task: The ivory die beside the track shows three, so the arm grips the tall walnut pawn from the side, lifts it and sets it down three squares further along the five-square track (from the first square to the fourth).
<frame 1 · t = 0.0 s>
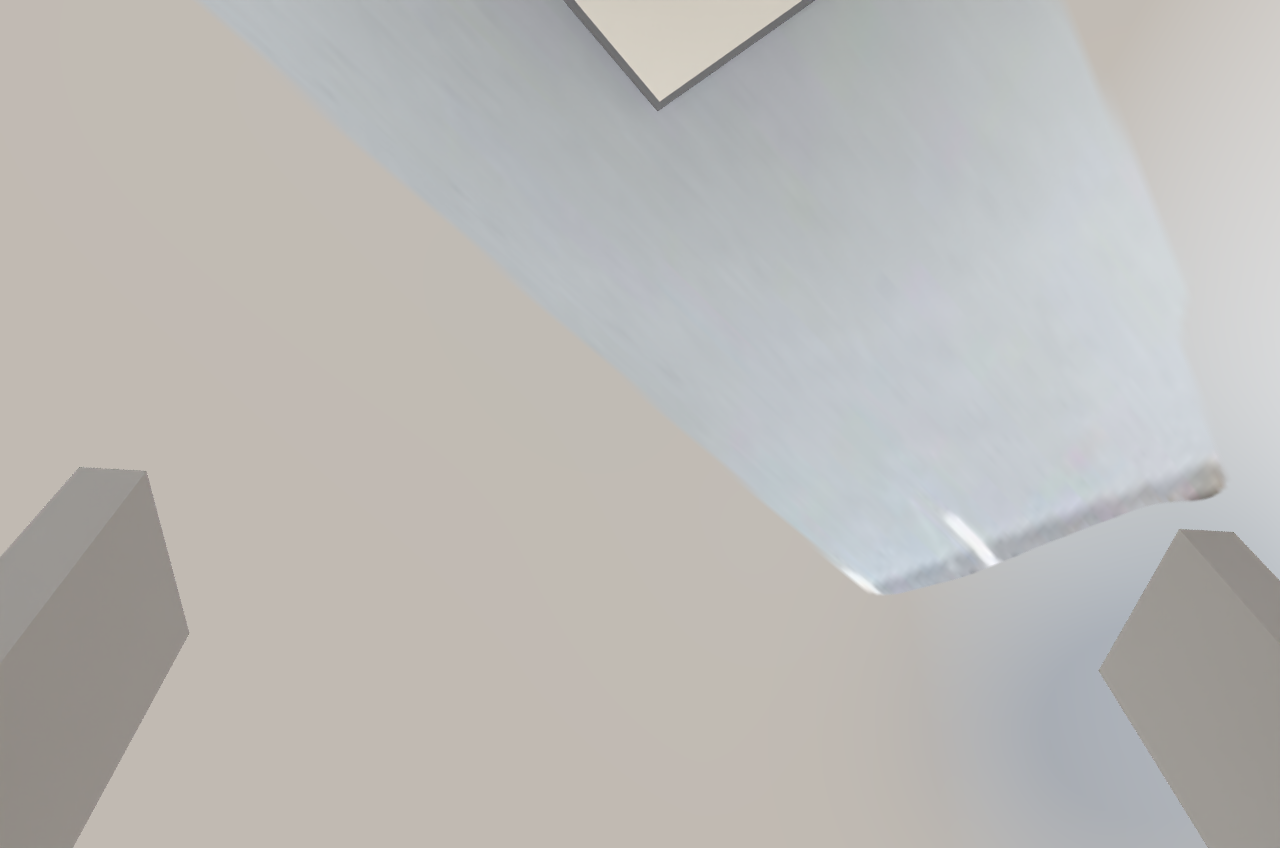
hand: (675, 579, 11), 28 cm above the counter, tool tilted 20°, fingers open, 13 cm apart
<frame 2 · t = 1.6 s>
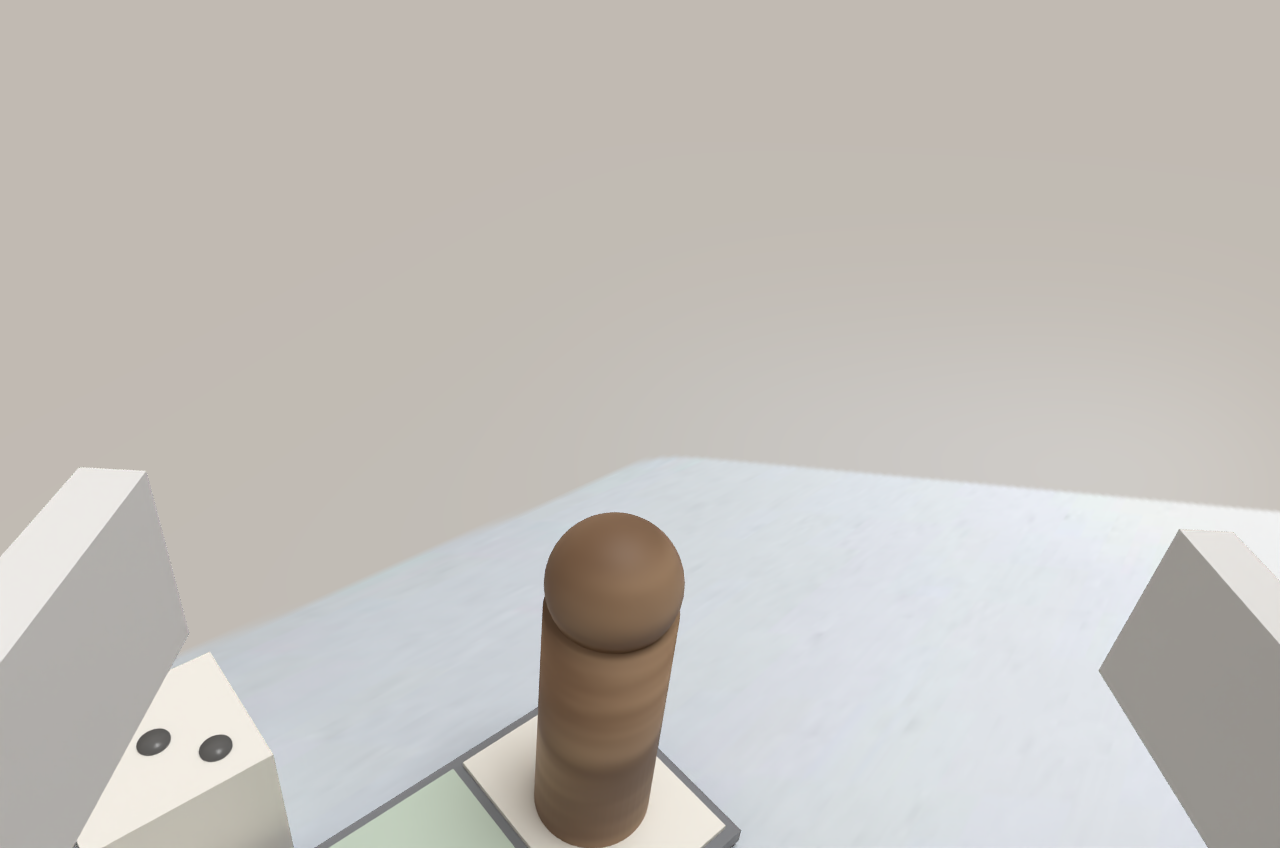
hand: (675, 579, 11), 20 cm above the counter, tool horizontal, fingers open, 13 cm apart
pawn: (591, 793, 30), point 1 cm above the counter, touching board
die: (186, 839, 28), on the counter
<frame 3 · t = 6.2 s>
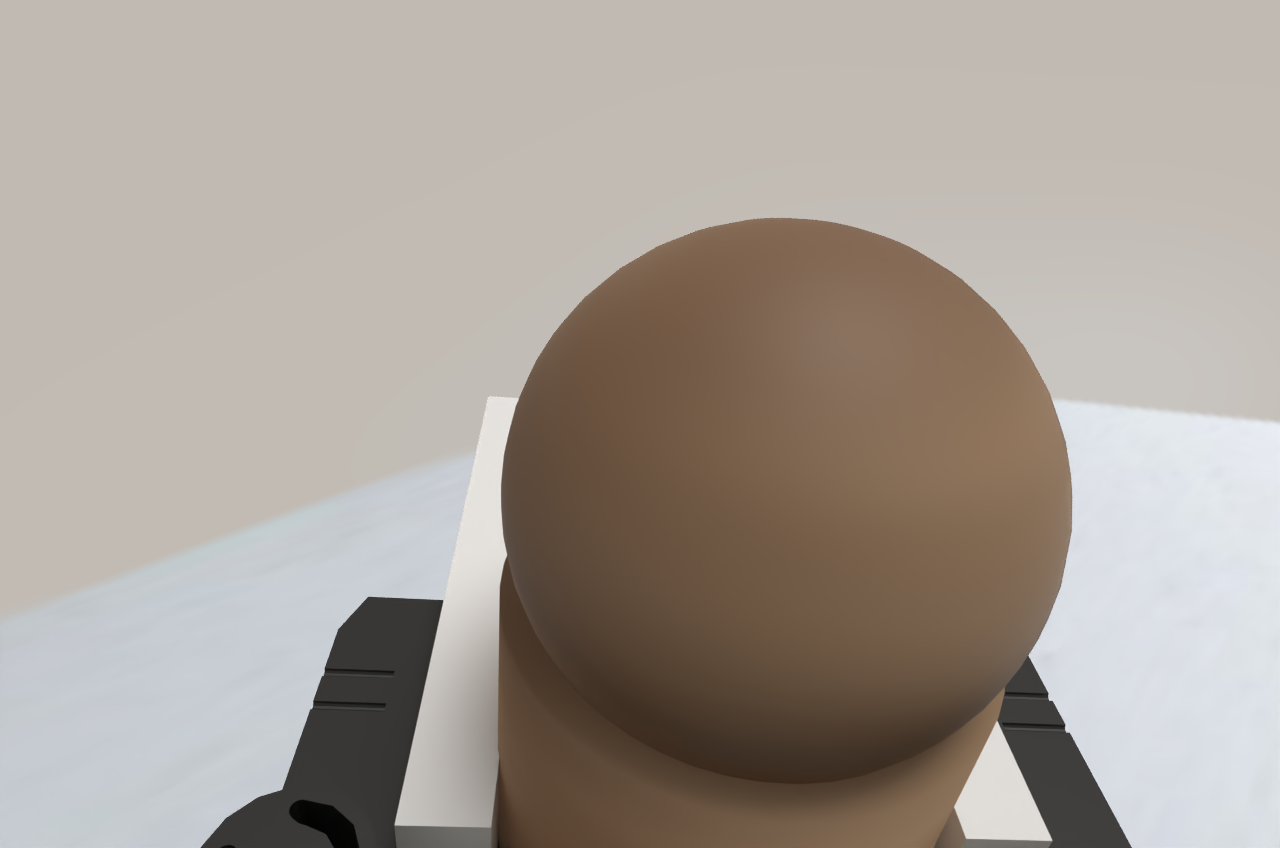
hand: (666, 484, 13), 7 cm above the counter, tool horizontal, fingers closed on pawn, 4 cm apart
when the fingers open (8 cm above the counter, at t = 10.8 s): pawn drops 1 cm, resting on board.
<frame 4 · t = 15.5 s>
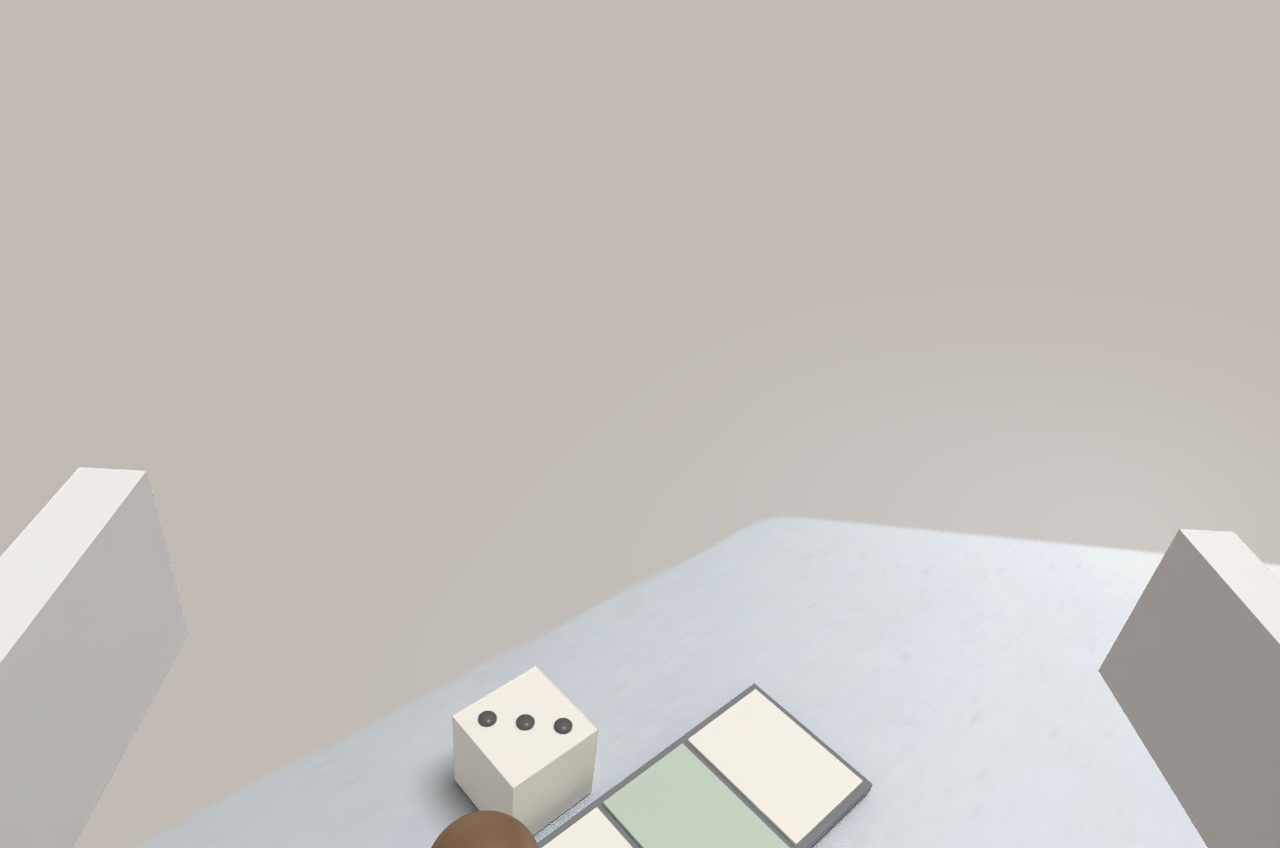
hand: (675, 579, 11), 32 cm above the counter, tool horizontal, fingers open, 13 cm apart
die: (522, 785, 44), on the counter
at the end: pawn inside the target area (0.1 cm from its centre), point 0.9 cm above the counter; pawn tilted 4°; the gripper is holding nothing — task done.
